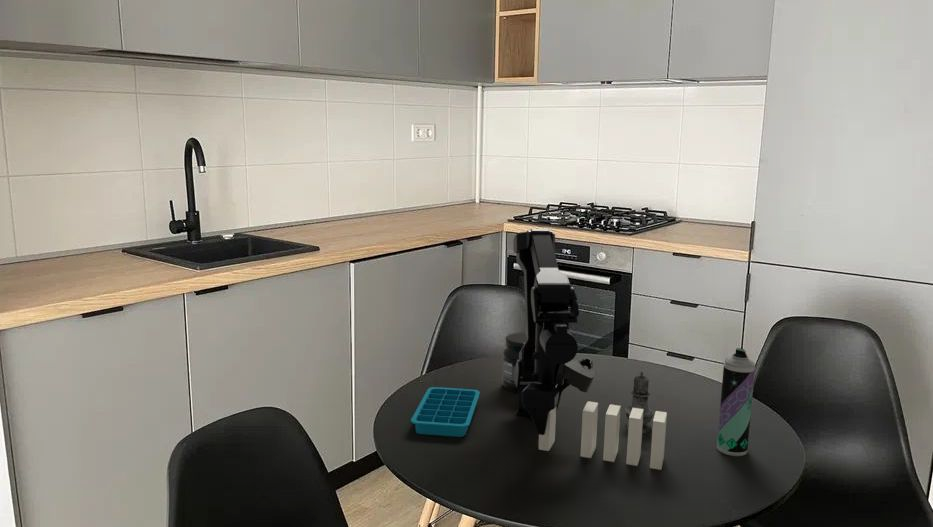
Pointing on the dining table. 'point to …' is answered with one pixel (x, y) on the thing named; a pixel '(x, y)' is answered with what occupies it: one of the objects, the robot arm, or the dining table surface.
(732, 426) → the spray can
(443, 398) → the ice cube tray
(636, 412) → the domino
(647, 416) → the chess piece
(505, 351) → the supplement container
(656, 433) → the domino
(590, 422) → the domino
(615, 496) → the dining table surface
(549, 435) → the domino
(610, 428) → the domino
